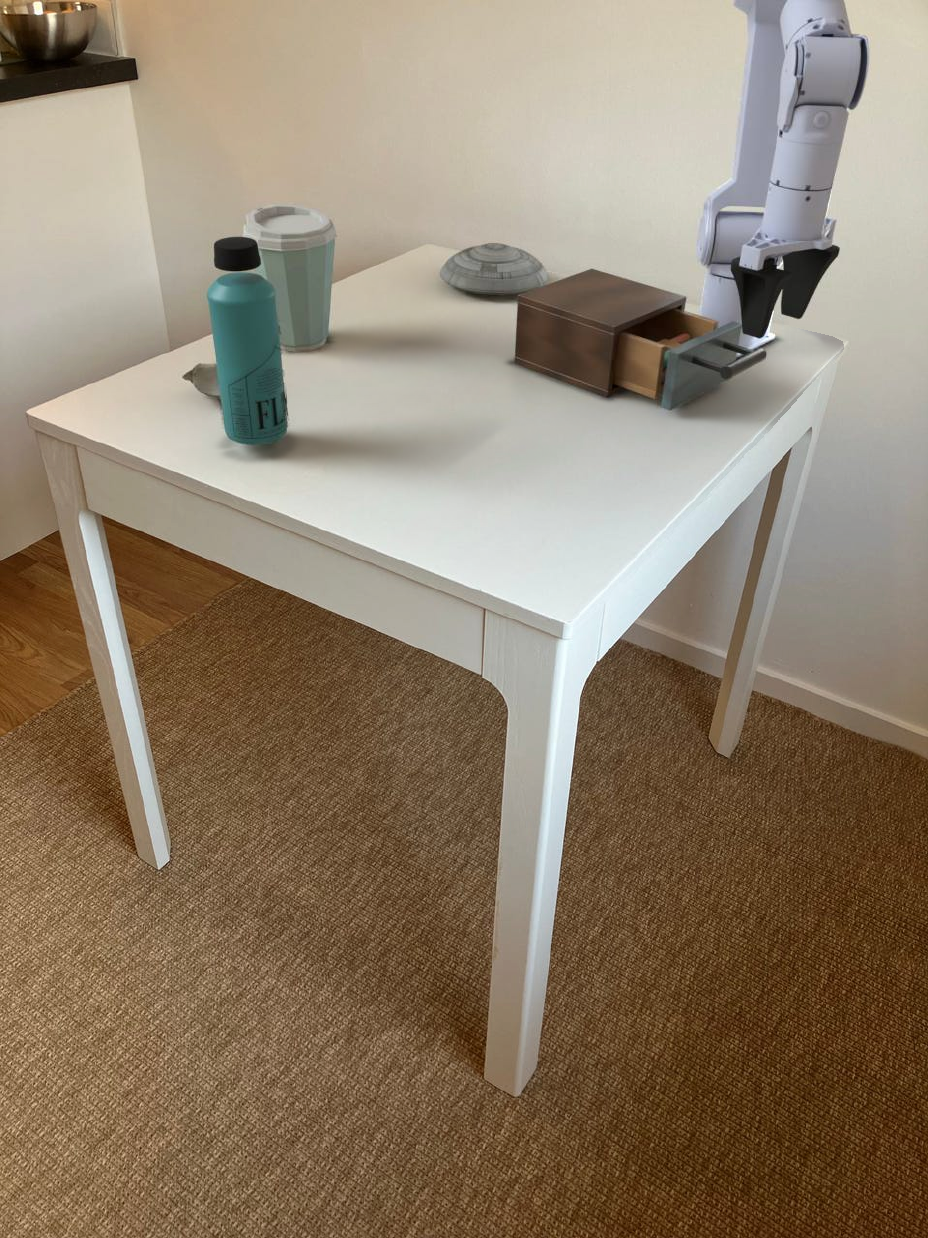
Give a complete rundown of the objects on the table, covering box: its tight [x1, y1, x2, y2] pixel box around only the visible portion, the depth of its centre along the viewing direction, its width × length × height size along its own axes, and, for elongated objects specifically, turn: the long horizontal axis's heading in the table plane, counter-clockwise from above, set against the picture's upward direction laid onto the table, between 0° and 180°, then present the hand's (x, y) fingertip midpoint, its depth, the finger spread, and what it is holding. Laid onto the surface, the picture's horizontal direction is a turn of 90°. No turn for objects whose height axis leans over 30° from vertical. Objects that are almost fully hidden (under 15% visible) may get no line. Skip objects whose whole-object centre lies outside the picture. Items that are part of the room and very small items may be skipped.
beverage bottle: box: [206, 236, 290, 446], centre depth 98 cm, size 6×7×20 cm
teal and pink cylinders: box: [656, 333, 698, 383], centre depth 115 cm, size 8×3×3 cm, turn 137°
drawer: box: [613, 308, 768, 411], centre depth 114 cm, size 17×12×6 cm
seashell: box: [181, 362, 221, 400], centre depth 113 cm, size 8×3×8 cm
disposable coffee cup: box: [242, 203, 338, 353], centre depth 122 cm, size 11×11×15 cm
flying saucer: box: [439, 242, 549, 296], centre depth 143 cm, size 15×15×6 cm
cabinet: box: [514, 268, 687, 399], centre depth 120 cm, size 14×14×8 cm
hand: (772, 325), depth 105 cm, fingers open, 7 cm apart
